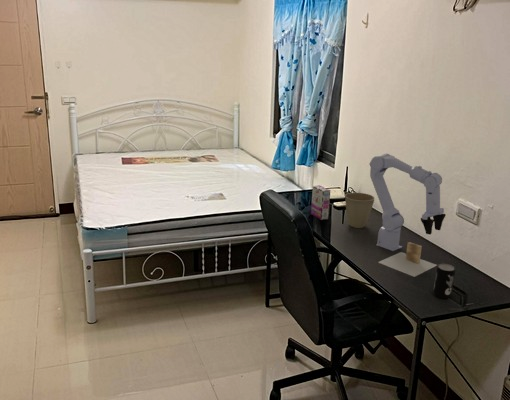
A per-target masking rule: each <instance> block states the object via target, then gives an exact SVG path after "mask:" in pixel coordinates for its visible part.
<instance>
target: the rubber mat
mask: <svg viewBox="0 0 510 400" xmlns="http://www.w3.org/2000/svg"><path fill="white" fill-rule="evenodd" d="M377 263H378V264H381V265H383V266H385V267H388V268H391V269H393V270H396V271H399V272H401V273H403V274H406V275H408V276H411V277H414V278H415V277H417V276H419V275H421V274H423V273H425V272H427V271H429V270H431V269H433V268H435V267H436V266H438V264H436V263H432V262H430V261H427V260H424V259H421V258H420V263H419V264H416V263H414V262H411V261H408V260H406V253H405V252H403V251H400V252H398V253H396V254H394V255H391V256H388V257H386V258H385V259H382V260H380V261H377Z"/></svg>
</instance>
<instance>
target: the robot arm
mask: <svg viewBox="0 0 510 400" xmlns="http://www.w3.org/2000/svg"><path fill="white" fill-rule="evenodd" d="M369 166H370V169H369V171H370V172H369V175H370V180H371V182H372V184H373V188H374V190H375V194H376V196H377V198H378V200H379V203H380V206H381V209H382V216H381V218H382V226H381V227H380V228H379V230H378V234H377V241H376V242H377V243H376V244H375V245H376V246H377V247H381V248H384V249H386V250H389V251H391V252H395V251H397V250H398V249H399V250H400V249H401V248H403V246H402V245H400V239H401V231H402V226H403V225H404V223H405V218H404V216H403V215H402V214H401V212H400V210H398V208H396V207H395V204H394V202H393V199H392V197H391V195H390V191H389V188H388V185H387V183H386V181H385V177H384V175H385V173H386V172H387V170H388V169H389V168H393V169H397V170H399V171H401V172H404V173H406V174H408V176H409V178H410V179H413V180H415V181H416V182H419V183H420V184H423V186H424V187H425V212H424V213H423V214H422V215H421V218H420V222H421V224H422V225H423V228H424V231H425V234H426V235H429V236H430V235H432V234H433V225H434V229H435V230H436V231H441V229H442V225H443V221H444V219H445V218H446V214H445V208H443V207H441V184H442V183H443V177H442V176H441V174H439V173H438V172H433V173H432V171H430V170H429V171H428V170H426V169H424V168H423V167H422V166H421V165H415V166H411V164H408V163H406V162H404V161H402V160H400V159H399V158H397V157H395V156H394V155H392V154H390V153H384V154H381V155H377V156H373V157H372V158H371V160H370V162H369ZM432 218H433V219H432Z"/></svg>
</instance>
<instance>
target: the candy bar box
mask: <svg viewBox="0 0 510 400" xmlns="http://www.w3.org/2000/svg"><path fill="white" fill-rule="evenodd" d="M311 190H312V193H311V205H310V206H311V207H310V215H312V216H314V217H315V218H317V219H319V220H320V221H324V220H329V214H330V204H331V203H330V202H331V190H330V189H328V188H326V187H324V186H322V185H319V184H318V185H312V189H311Z"/></svg>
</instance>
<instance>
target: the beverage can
mask: <svg viewBox="0 0 510 400" xmlns="http://www.w3.org/2000/svg"><path fill="white" fill-rule="evenodd" d="M437 266H438V267H436V271H435V277H434V278H435V279H434V283H433V285H434V286H433V290H432V293H433V295H434V296H435V297H436V298H438V299H441V298H442V299H441V300H447V299H450V298H451V297H452V294H453V288H454V283H455V276H456V270H455V267H454V266H453V265H451V264H449V263H440V264H437Z"/></svg>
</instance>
